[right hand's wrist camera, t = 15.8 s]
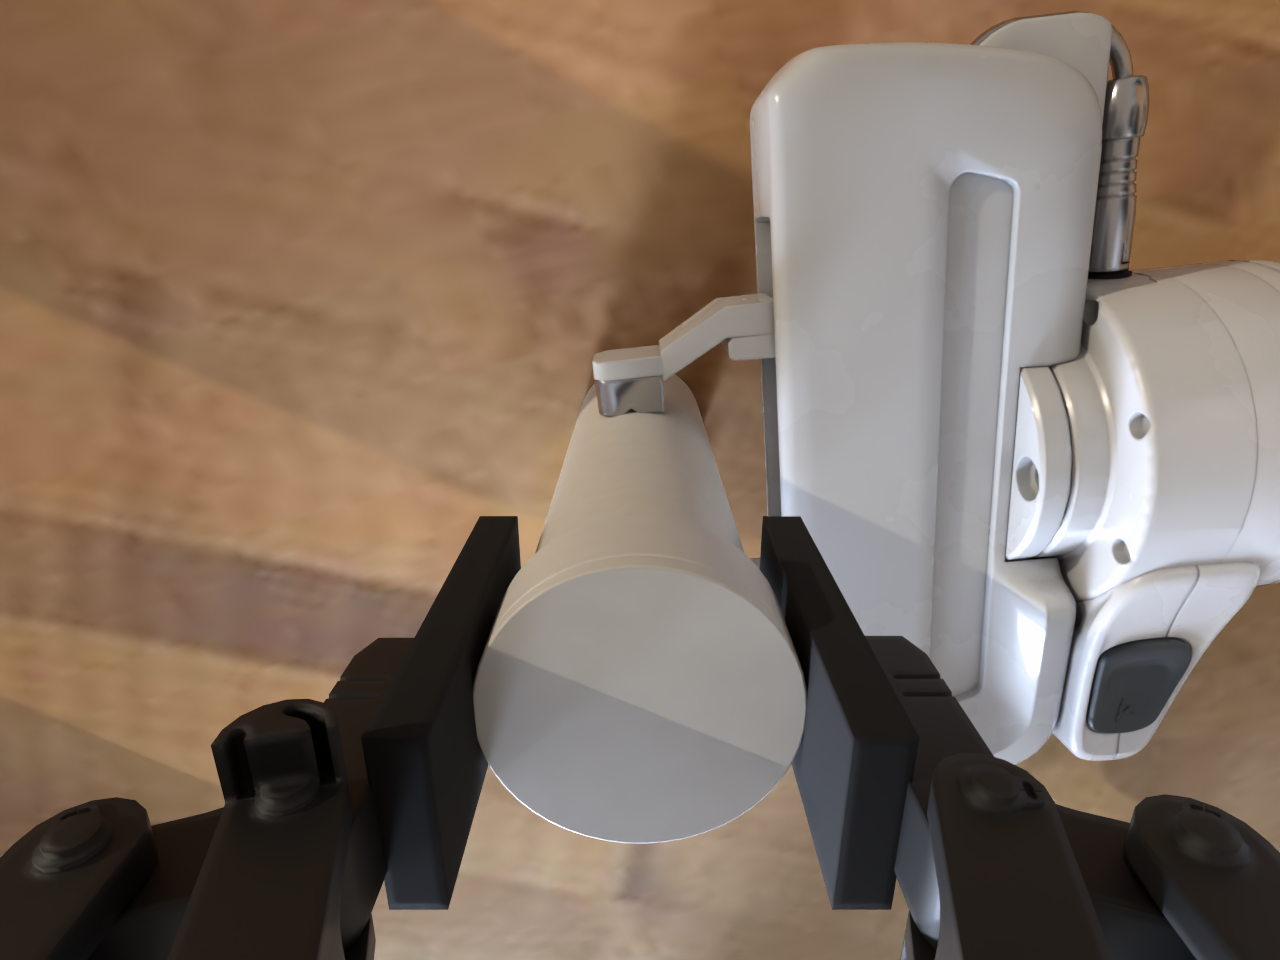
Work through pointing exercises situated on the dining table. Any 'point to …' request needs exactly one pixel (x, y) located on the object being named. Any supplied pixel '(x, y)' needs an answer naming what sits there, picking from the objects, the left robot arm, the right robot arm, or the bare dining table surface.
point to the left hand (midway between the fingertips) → (608, 484)
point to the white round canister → (639, 682)
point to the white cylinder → (641, 469)
